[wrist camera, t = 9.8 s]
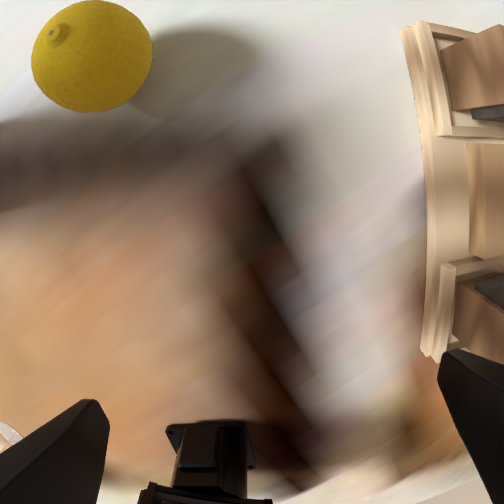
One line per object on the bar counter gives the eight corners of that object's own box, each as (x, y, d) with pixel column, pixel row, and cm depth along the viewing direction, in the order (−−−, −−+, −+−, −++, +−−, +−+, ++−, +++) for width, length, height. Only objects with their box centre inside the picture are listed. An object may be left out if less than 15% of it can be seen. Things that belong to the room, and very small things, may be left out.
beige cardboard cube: (439, 50, 14) (499, 24, 8) (483, 59, 14) (542, 42, 8) (453, 120, 15) (520, 114, 9) (495, 123, 15) (559, 122, 9)
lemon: (156, 21, 14) (106, -47, 7) (179, 98, 16) (129, 55, 8) (76, 59, 15) (-2, 22, 7) (94, 134, 16) (8, 127, 9)
